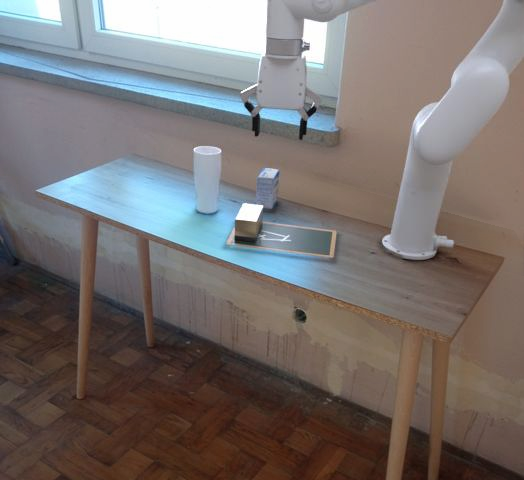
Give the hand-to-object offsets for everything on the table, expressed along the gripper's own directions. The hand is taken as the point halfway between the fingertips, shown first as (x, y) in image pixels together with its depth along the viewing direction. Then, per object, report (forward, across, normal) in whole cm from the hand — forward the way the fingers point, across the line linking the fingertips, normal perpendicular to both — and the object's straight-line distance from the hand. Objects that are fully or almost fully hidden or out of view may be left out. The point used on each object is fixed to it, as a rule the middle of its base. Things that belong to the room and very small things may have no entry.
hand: (279, 136), depth 121 cm
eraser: (+20, +5, +6) cm, 22 cm away
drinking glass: (+21, +18, -7) cm, 29 cm away
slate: (+22, -3, +6) cm, 23 cm away
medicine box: (+22, +4, -15) cm, 26 cm away
